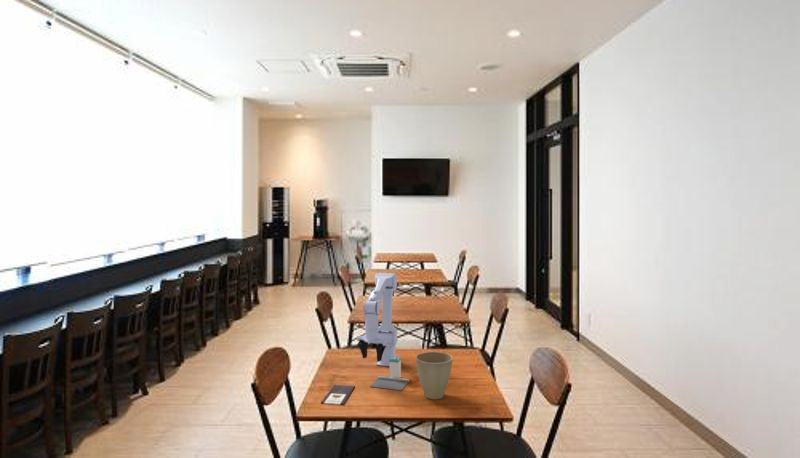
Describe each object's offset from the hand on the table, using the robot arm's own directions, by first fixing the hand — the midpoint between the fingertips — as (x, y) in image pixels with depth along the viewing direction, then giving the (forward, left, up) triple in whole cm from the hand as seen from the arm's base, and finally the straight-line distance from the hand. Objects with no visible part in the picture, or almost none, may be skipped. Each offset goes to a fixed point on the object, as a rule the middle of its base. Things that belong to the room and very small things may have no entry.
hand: (372, 359), depth 211 cm
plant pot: (+7, +29, -10) cm, 32 cm away
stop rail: (-4, +8, -10) cm, 14 cm away
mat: (+1, +8, -10) cm, 13 cm away
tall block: (-7, +8, -10) cm, 15 cm away
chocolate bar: (+18, -8, -11) cm, 22 cm away
